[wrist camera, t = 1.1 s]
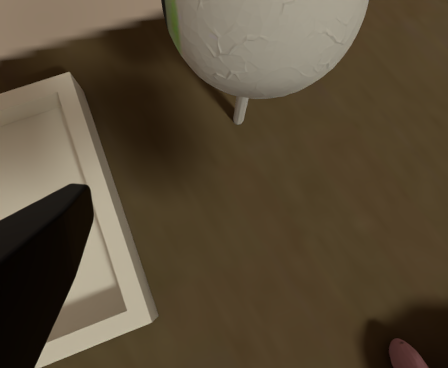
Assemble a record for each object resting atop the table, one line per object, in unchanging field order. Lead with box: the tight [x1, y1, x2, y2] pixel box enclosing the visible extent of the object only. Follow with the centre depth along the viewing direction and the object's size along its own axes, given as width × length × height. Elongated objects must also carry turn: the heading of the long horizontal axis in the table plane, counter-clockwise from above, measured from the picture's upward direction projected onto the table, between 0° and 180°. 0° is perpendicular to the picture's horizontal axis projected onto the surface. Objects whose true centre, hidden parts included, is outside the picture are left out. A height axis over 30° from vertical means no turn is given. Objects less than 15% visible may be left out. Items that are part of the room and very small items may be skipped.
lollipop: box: [161, 0, 369, 125], centre depth 17 cm, size 7×7×15 cm
